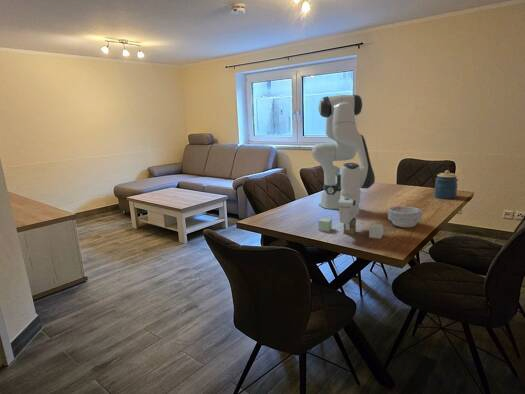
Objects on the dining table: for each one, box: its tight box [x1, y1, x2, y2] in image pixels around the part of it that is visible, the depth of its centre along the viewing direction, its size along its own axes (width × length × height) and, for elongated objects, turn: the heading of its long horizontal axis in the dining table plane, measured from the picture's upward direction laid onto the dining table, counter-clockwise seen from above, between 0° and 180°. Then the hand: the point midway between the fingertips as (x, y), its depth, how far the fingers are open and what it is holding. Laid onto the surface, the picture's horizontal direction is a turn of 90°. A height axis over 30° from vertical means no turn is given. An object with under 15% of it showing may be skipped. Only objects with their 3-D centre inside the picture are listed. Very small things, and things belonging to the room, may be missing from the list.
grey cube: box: [368, 223, 384, 240], centre depth 151 cm, size 5×5×5 cm
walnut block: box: [343, 217, 357, 236], centre depth 157 cm, size 4×4×7 cm
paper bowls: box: [387, 205, 423, 228], centre depth 165 cm, size 15×15×8 cm
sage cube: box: [318, 217, 333, 233], centre depth 163 cm, size 5×5×5 cm
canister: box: [433, 169, 459, 200], centre depth 216 cm, size 13×13×18 cm
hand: (349, 227), depth 157 cm, fingers open, 5 cm apart
